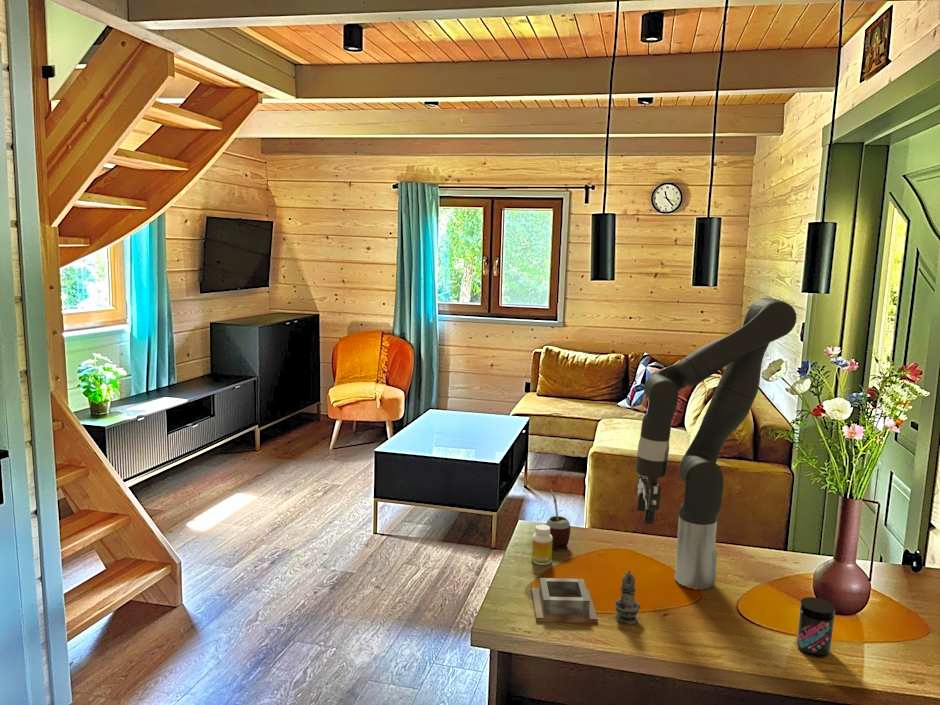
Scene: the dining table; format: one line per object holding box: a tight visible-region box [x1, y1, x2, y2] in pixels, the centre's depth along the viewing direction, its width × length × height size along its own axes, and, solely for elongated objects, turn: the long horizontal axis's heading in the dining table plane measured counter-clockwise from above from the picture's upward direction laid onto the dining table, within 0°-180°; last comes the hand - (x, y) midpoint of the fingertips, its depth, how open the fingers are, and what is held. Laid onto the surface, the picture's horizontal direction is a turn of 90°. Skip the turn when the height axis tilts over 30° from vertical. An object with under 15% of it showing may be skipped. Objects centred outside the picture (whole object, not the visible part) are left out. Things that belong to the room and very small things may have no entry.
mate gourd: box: [545, 488, 571, 551], centre depth 205 cm, size 8×8×15 cm
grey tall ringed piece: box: [614, 570, 641, 626], centre depth 166 cm, size 6×6×12 cm
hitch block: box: [531, 577, 599, 624], centre depth 172 cm, size 14×14×4 cm
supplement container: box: [796, 596, 836, 658], centre depth 155 cm, size 7×7×10 cm
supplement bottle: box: [531, 523, 553, 566], centre depth 195 cm, size 5×5×10 cm
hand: (644, 516), depth 183 cm, fingers open, 8 cm apart
